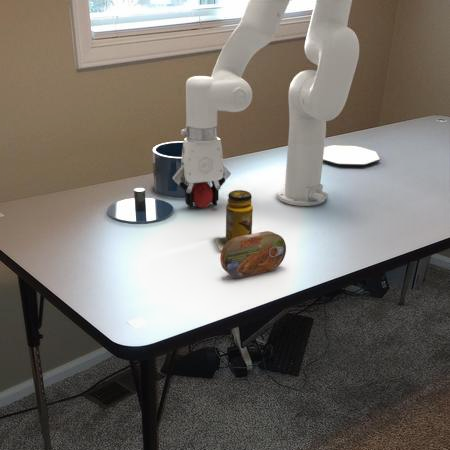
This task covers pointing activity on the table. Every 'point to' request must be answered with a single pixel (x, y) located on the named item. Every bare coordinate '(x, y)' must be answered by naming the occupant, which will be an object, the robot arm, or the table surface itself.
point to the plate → (349, 155)
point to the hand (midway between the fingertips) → (202, 204)
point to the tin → (253, 254)
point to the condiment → (237, 216)
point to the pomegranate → (202, 194)
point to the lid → (140, 209)
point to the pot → (168, 169)
